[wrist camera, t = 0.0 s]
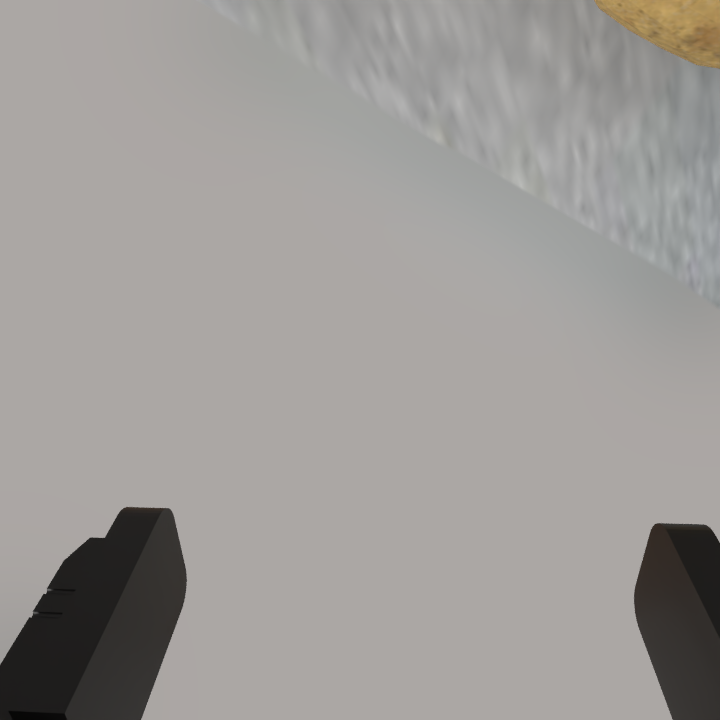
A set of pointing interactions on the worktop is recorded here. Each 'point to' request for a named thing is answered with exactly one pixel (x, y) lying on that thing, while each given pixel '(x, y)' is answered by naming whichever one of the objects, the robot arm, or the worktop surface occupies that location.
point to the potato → (673, 25)
